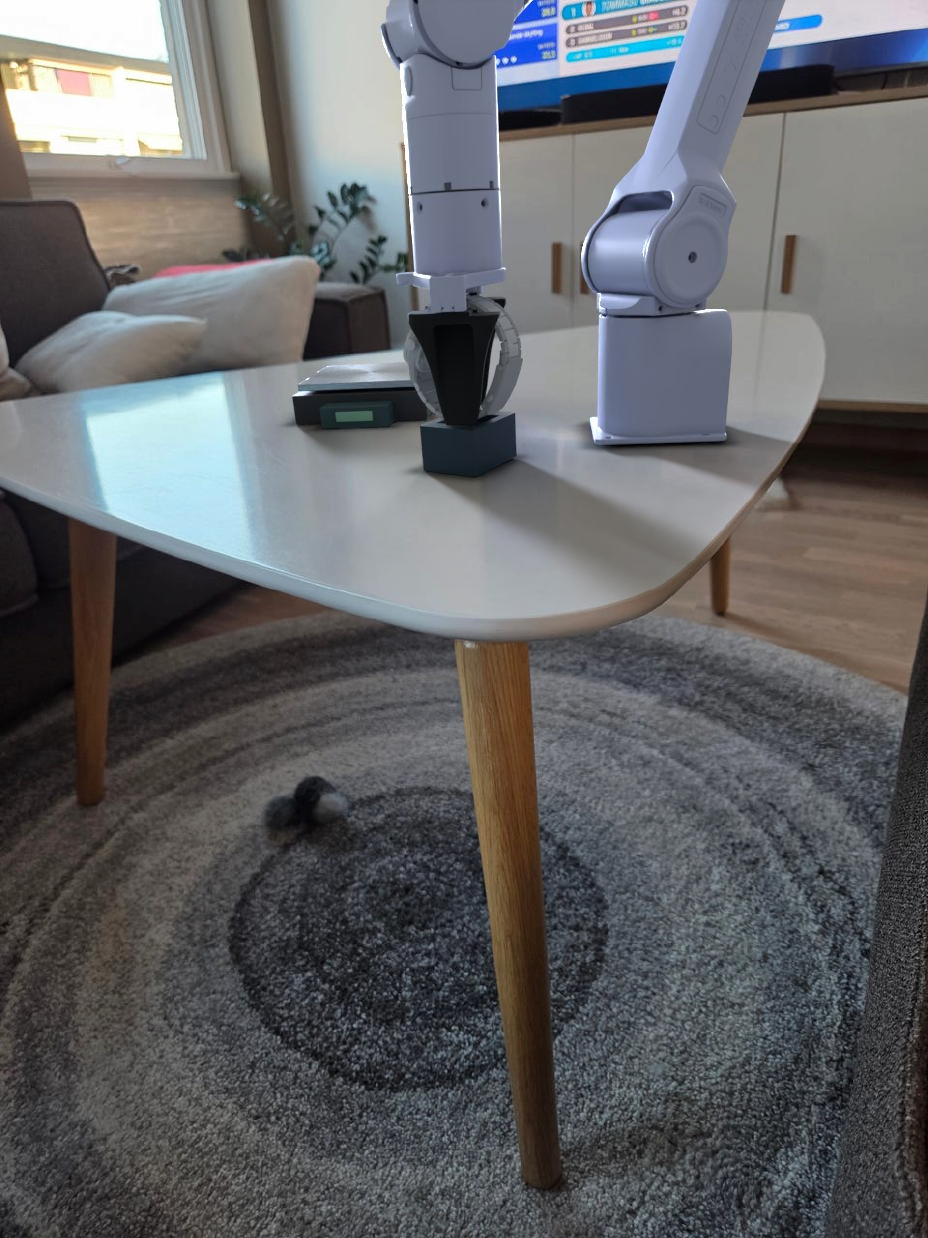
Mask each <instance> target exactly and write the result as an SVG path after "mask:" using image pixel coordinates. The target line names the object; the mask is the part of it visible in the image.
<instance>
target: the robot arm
mask: <svg viewBox="0 0 928 1238" xmlns="http://www.w3.org/2000/svg"><path fill="white" fill-rule="evenodd" d="M532 1H533V0H389V2H388V5H387V6H386V8H385V21H384V23H381V25H380V33H381V38H382V42H383V46H384V48H385V50H386V53H387V54H388V57H389V59H390V60H391V62H392V63H393V65H394V66H395V68H396V69H397V70H398V72H399V73H400V80H401V94H402V105H403V106H402V122H403V135H404V145H405V146H404V148H405V161H406V174H407V175H406V176H407V177H406V178H407V187H408V188H407V189H408V195H409V196H408V199H409V214H410V215H409V216H410V227H411V240H412V241H411V242H412V243H411V244H412V256H413V268H414V269H413V270H414V271H407V272H406V271H405V272H398V273H396V285H397V286H409V285H411V286H413V287H414V288H419V289H423V290H427V291H429V300H430V301H429V302H430V303H429V304H427V305H425V307H424V309H423V310H422V309H421V310H411V311H410V312H408V313H407V323H408V325H409V328H410V329H411V330H412V331H413V333H414V335H415V336H416V338H417V340H418V341H419V343H420V345H421V347H422V349H423V352H424V354H425V357H426V359H427V361H428V364H429V367H430V370H431V373H432V377H433V381H434V385H435V389H436V393H437V397H438V401H439V405H440V409H441V412H442V415H443V418H444V421H445V423H446V425H471V424H476V423H477V420H478V416H479V412H480V410H481V404H482V402H483V401H484V399H485V397H486V395H487V393H488V383H489V377H490V369H491V368H490V367H491V358H492V351H493V347H494V341H495V337H496V336H495V335H496V331H495V330H496V329H497V328H496V329H494V328H495V325H496V323H497V320H498V318H499V316H500V314H501V313H500V311H497V312H477V310H474V309H472V308H469V301H468V299H466V296H473V295H477V296H480V295H482V294H483V293H484V286H489V285H493V284H499V283H503V282H505V281H506V280H507V269H506V267H504V266H503V265H504V264H503V238H502V237H503V236H502V235H503V231H502V230H503V229H502V204H501V203H502V201H501V173H500V172H501V171H500V170H501V169H500V168H501V167H500V141H499V108H498V107H499V105H498V104H499V103H498V86H497V85H498V83H497V82H498V81H497V79H498V78H497V56H496V55H495V52H496V51H500V50H501V49H504V48H506V46H507V44H508V42H509V40H510V38H511V35H512V32H513V29H514V24H515V20H516V19H517V18H518V17H519V16H520V15H521V14H522V13H523V11H524V10H525V9H526V8H527V7H528V6H529V5H530V4H531V2H532ZM785 3H786V0H696V2H695V5H694V8H693V11H692V13H691V16H690V20H689V23H688V25H687V28H686V32H685V34H684V38H683V40H682V43H681V46H680V48H679V51H678V55H677V58H676V60H675V62H674V66H673V69H672V72H671V74H670V78H669V81H668V82H667V83H668V84H667V87H666V89H665V93H664V95H663V98H662V101H661V103H660V107H659V109H658V113H657V116H656V118H655V121H654V124H653V127H652V130H651V133H650V135H649V139H648V142H647V144H646V148H645V151H644V153H643V155H642V156H641V157H640V158H639V160H638V161H637V162H636V163H635V164H634V165H633V166H632V168H631V169H630V170H629V171H628V172H627V173H626V174H625V175H624V176H623V178H622V179H621V180H620V181H619V182H618V183H617V184H616V186H615V187H614V188H613V192H612V194H611V197H610V200H609V203H608V204H607V206H606V209H605V211H604V212H603V214H602V215H601V216H599V218H598V219H597V220H596V221H595V222H594V223H593V225H591V227H590V229H589V230H588V232H587V234H586V236H585V238H584V242H583V244H582V245H583V246H582V249H581V259H580V261H581V262H580V263H581V271H582V275H583V278H584V280H585V283H586V285H587V287H588V288H589V289H590V290H591V292H592V293H593V294H595V295H596V310H598V312H599V314H598V349H597V351H598V353H597V355H598V359H597V361H598V362H597V414H596V416H591V417H590V418H589V426H590V429H591V434H592V439H593V443H594V444H595V445H598V446H610V445H611V446H612V445H613V446H614V445H615V446H616V445H640V444H642V445H646V444H675V443H705V442H709V443H710V442H724V441H727V437H728V434H727V433H726V427H727V415H728V405H729V404H728V403H729V391H730V379H731V368H732V367H731V366H732V355H733V352H732V351H733V328H732V319H731V315H730V313H729V311H728V310H726V309H721V308H720V309H719V308H718V309H717V308H716V309H715V308H714V309H707V299H708V298H709V297H710V296H711V295H712V294H713V293H714V292H715V290H716V289H717V287H718V286H719V284H720V282H721V280H722V278H723V276H724V273H725V270H726V267H727V266H726V265H727V262H728V256H729V233H730V228H731V223H732V220H733V217H734V215H735V213H736V210H737V206H738V204H737V203H738V202H737V200H736V198H735V196H734V195H733V193H732V191H731V189H730V188H729V187H728V184H727V183H726V181H725V180H724V178H723V176H722V173H723V171H724V168H725V165H726V163H727V160H728V157H729V154H730V152H731V149H732V146H733V144H734V140H735V138H736V135H737V133H738V129H739V127H740V125H741V123H742V119H743V116H744V114H745V111H746V108H747V106H748V102H749V100H750V98H751V94H752V92H753V89H754V87H755V84H756V81H757V79H758V76H759V73H760V71H761V68H762V65H763V62H764V60H765V57H766V55H767V51H768V48H769V47H770V44H771V41H772V38H773V35H774V32H775V30H776V28H777V25H778V22H779V19H780V16H781V14H782V12H783V8H784V5H785ZM493 54H494V55H493ZM486 297H487V298H489V299H491V300H493V301H494V302H495V303H498V304H499V305H500V306H501V307H502V308H503V309H504V310H505V307H506V305H507V296H486ZM430 305H431V310H425V309H426V308H427V307H428V306H430Z"/></svg>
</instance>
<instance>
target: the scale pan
mask: <svg viewBox="0 0 928 1238" xmlns="http://www.w3.org/2000/svg"><path fill="white" fill-rule="evenodd" d="M396 387H414V384H413V382H412V381H410V377H409V371H408V364H407V363H406V362H405V361H402V362H378V363H355V364H354V363H353V364H332V365H326V366H325V367H323V368H321V369H320V370H318V371H316V373H314V374H312V375H311V376H309V377H308V378H306V379H304V380H303V381H301V382H300V383H298V384H297V390H298V391H297V392H299V391H322V390H347V389H372V388H396Z"/></svg>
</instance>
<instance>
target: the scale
mask: <svg viewBox="0 0 928 1238" xmlns="http://www.w3.org/2000/svg"><path fill="white" fill-rule="evenodd" d="M426 380H427V379H426ZM418 392H419V391H418ZM418 392H417V391H416V389H415V387H396V388H372V389H347V390H322V391H297V392H296V393H295V394H293V395H292V396H291V399H292V407H293V413H294V421H295V425H315V424H321V429H323V430H331V429H332V430H333V429H359V428H360V429H361V428H386V427H387V428H388V427H391V425H392V424H393V423H394V422H401V421H402V422H404V421H427V420H429V418H430V417H431V415H432V413H433V412H432V411H431V410H430V409H429V408H428V407H427V406H426V405H425V404H426V403H424V402H423V401H422V400H421V398H420V397H419V395H418ZM432 392H433V391H432ZM429 393H430V392H429ZM426 394H427V393H426Z"/></svg>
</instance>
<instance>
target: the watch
mask: <svg viewBox="0 0 928 1238" xmlns="http://www.w3.org/2000/svg"><path fill="white" fill-rule="evenodd" d="M487 297H488V296H482V295H479V296H477V295H473V296H466V299H468V301H469V308H472V309H474V310H477V312H497V311H500V313H501V314H500V316H499V318H498V320H497V323H496V325H495V328H494V329H496V328H497V329H496V330H495V331H496V332H495V335H496V336H497V338H498V340H499V342H500V344H499V345H500V350H499V359H498V363H497V364H496V365H495V369H494V374H493V376H492V377H493V378H492V381H491V384H490V386H489V389H488V390H487V392H486V397H485V399H484V401H483V402H482V404H481V406H480V408H481V409H480V412H479V416H478V420H477V423H476V424H471V425H446V423H445V421H444V418H443V415H442V412H441V409H440V405H439V401H438V397H437V393H436V389H435V385H434V381H433V377H432V373H431V370H430V367H429V364H428V361H427V359H426V357H425V354H424V352H423V349H422V347H421V345H420V343H419V341H418V340H417V338H416V336H415V335H414V333H413V331H412V330H411V328H410V329H409V331H408V333H407V336H406V338H405V341H404V345H403V351H402V352H403V353H402V354H403V355H402V356H403V360H404V362H406V363H407V364H408V371H409V377H410V381H412V382H413V384H414V387H415V389H416V391H417V392H418V391H419V392H418V395H419V397H420V398H421V400H422V401H423V402H424V403H426V404H425V405H426V406H427V407H428V408H429V409H430V410H431V411H432V413H433V414H434V415H435V416H437V417H438V418H436V419H434V420H431V421H428V422H426V423H423V424H421V425H419V432H420V433H419V434H420V444H421V445H420V446H421V458H422V469H423V472H432V473H439V474H446V475H447V474H448V475H455V476H461V477H462V476H463V477H470V478H478V477H480V476H481V475H483V474H485V473H487V472H489V471H491V470H493V469H495V468H496V467H498V466H501V465H502V464H504V463H506V462H508V461H510V460H512V459H514V458H516V457H518V455H517V453H518V452H517V427H516V426H517V425H516V421H517V420H516V412H515V411H514V412H513V411H501V410H502V409H504V407H505V406H506V405H507V403H508V401H509V399H510V398H511V395H512V394H513V392H514V390H515V388H516V386H517V382H518V380H519V377H520V373H521V371H522V365H523V362H524V361H523V360H524V358H522V343H521V338H520V335H519V330H518V327H517V326H516V324H515V323H514V320H513V318H512V317H511V315H510V314H509V313H508V312H507V311H506V309H505V308H504V309H503V308H502V307H501V306H500V305H499V304H498V303H495V302H494V301H493V300H491V299H489V298H487ZM424 310H431V305H430V306H428V307H427V308H426V309H425V308H424ZM426 379H427V380H426ZM432 391H433V392H432ZM429 392H430V393H429ZM426 393H427V394H426Z"/></svg>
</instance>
